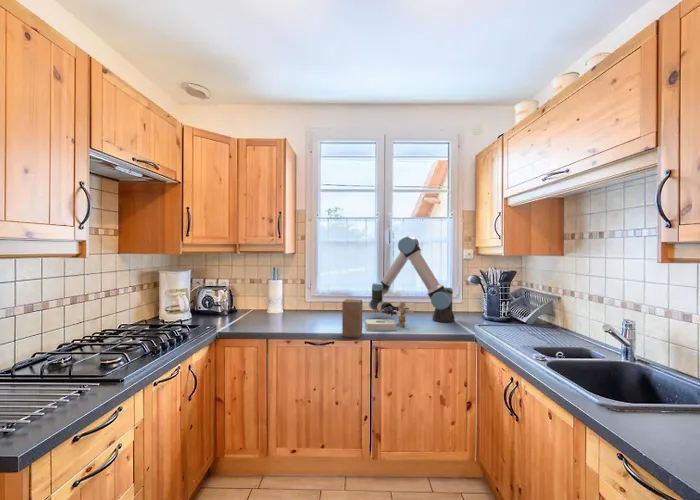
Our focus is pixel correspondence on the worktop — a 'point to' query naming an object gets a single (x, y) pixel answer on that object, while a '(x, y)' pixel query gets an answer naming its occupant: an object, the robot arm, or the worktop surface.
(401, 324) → the beech leg
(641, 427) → the worktop surface
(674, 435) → the worktop surface
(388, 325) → the socket block
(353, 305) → the wooden block
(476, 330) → the worktop surface
